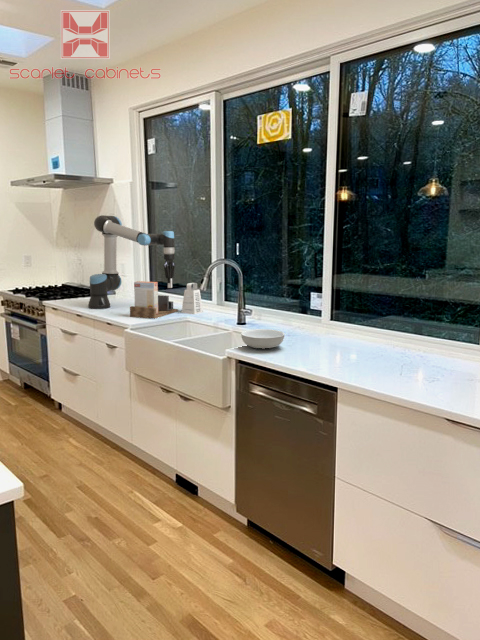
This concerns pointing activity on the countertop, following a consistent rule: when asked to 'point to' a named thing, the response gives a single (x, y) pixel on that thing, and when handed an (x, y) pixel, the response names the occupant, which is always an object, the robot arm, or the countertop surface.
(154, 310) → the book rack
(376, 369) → the countertop surface
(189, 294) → the grater
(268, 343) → the serving bowl
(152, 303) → the cracker box
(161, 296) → the bookend
